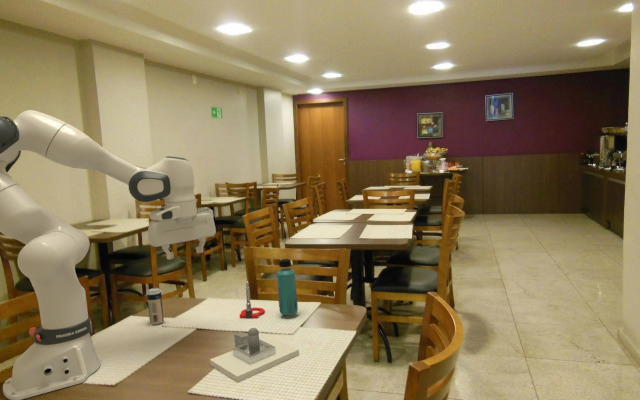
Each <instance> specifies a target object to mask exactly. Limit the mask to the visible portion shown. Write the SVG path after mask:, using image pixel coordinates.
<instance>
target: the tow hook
mask: <svg viewBox="0 0 640 400" xmlns="http://www.w3.org/2000/svg"><path fill="white" fill-rule="evenodd" d="M245 291H246V292H245V294H246V304H245V305H246V308H245V309H243V310H241V311H240V313H239V318H240V319H259V317H260V316H261V315H262V316H263V315H264V314H265V312H266V311H265V309H264V308H263V307H252V303H251V291H250V285H249V281H248V280H247V281H246V287H245ZM255 311H256V312H255ZM257 311H258V312H257ZM253 312H254V313H253Z"/></svg>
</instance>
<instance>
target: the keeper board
mask: <svg viewBox="0 0 640 400" xmlns="http://www.w3.org/2000/svg"><path fill="white" fill-rule="evenodd" d="M247 335H248V344H249V351H248V352H247V353H249V354H253V353H256V352H258V351H260V350H261V349H260V343H259V339H260V332H259V330H258V329H257V328H256V327H251V328H249V330H248V332H247ZM260 340H262V341H264V342H266V343H268V344H270V345H273V346H275V350H276V354H274V355H272V356H269V357H267V358H264V359H262V360H260V361H257V362H255V363H253V364H248V363H246V362H245V361H243V360H241V359H239V358H237V357H236V356H234V355H233V350H231V351H228V352H226V353H225V352H224V353H223V354H220V355H218V356H216V357H213V358H210V359H209V364H210V366H211V367H212V368H215V369H216V370H218V371H219V372H221V373H222V374H224V375H225V376H227V377H229V378H230V379H232V380H233V381H235V382H236V383H239V382H241V381H244V380H246V379H248V378H250V377H253V376H255V375H257V374H259V373H262V372H264V371H266V370H268V369H270V368H272V367H275V366H277V365H280V364H282V363H284V362H287V361H289V360H291V359H294V358H296V357H297V356H298V357H299V356H300V349H298V348H296V347H294V346H291V345H289V344H287V343H285V342H283V341H281V340H278V339H276V338H274V337H271V336H267V337H263V338H261V339H260Z"/></svg>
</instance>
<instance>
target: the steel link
mask: <svg viewBox="0 0 640 400" xmlns="http://www.w3.org/2000/svg"><path fill="white" fill-rule="evenodd" d="M233 335H234V345H235V346H234V347H233V348H232V351H233V355H234V356H236V357H237V358H239V359H241V360H243V361H245V362H246V363H248V364H253V363H255V362H257V361H260V360H262V359H264V358H267V357H269V356H272V355H274V354H276V350H275V346H273V345H270V344H268V343H266V342H264V341H262V340H261V339H260V338H259V343H260V349H261V350H260V351H258V352H256V353H253V354H249V353H247V352H248V351H249V344H248V334H246V333H244V332H242V331H238V332H236V333H234V334H233Z"/></svg>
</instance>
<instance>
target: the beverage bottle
mask: <svg viewBox="0 0 640 400" xmlns="http://www.w3.org/2000/svg"><path fill="white" fill-rule="evenodd" d="M291 266H292V263H291V259H290V258H283V259H280V260H279V265H278V267H280V269H279V271H277V272H276V276H277V277H276V279H277V295H278V308H279V313H280V314H281V315H283V316H285V315H286V316H291V315H294V314H295V315H296V314H297V313H298V310H299V307H298V304H299V303H298V297H297V294H298V293H297V284H296V283H297V282H296V272H295V270H294V269H292V268H289V267H291Z"/></svg>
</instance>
